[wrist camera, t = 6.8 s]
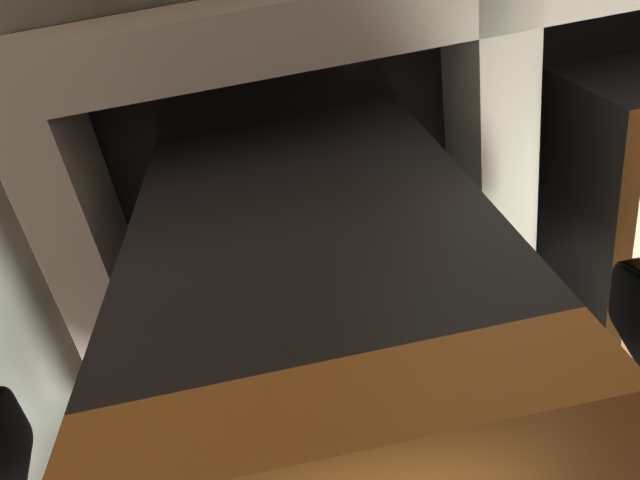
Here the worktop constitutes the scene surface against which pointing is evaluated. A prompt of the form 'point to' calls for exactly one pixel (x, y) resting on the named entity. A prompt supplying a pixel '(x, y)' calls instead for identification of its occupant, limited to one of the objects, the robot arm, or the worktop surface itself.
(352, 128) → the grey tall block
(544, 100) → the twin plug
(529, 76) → the two-cubby shelf
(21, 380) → the worktop surface
